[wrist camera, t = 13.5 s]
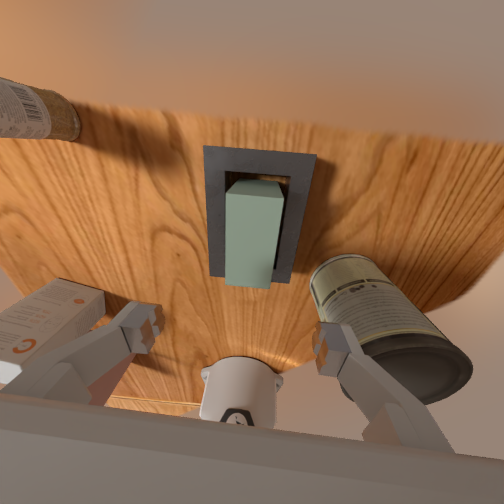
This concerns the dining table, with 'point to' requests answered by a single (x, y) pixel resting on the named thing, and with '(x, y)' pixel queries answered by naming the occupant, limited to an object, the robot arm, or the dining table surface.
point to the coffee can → (389, 327)
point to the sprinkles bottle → (35, 113)
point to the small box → (46, 323)
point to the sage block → (252, 232)
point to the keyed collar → (262, 162)
